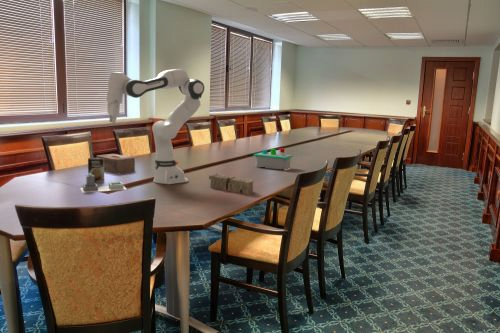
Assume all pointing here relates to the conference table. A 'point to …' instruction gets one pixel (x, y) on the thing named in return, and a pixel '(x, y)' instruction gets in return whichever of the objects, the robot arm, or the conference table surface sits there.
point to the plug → (90, 180)
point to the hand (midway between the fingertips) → (112, 122)
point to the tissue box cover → (118, 163)
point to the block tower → (231, 183)
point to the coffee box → (96, 169)
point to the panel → (103, 187)
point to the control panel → (273, 159)
